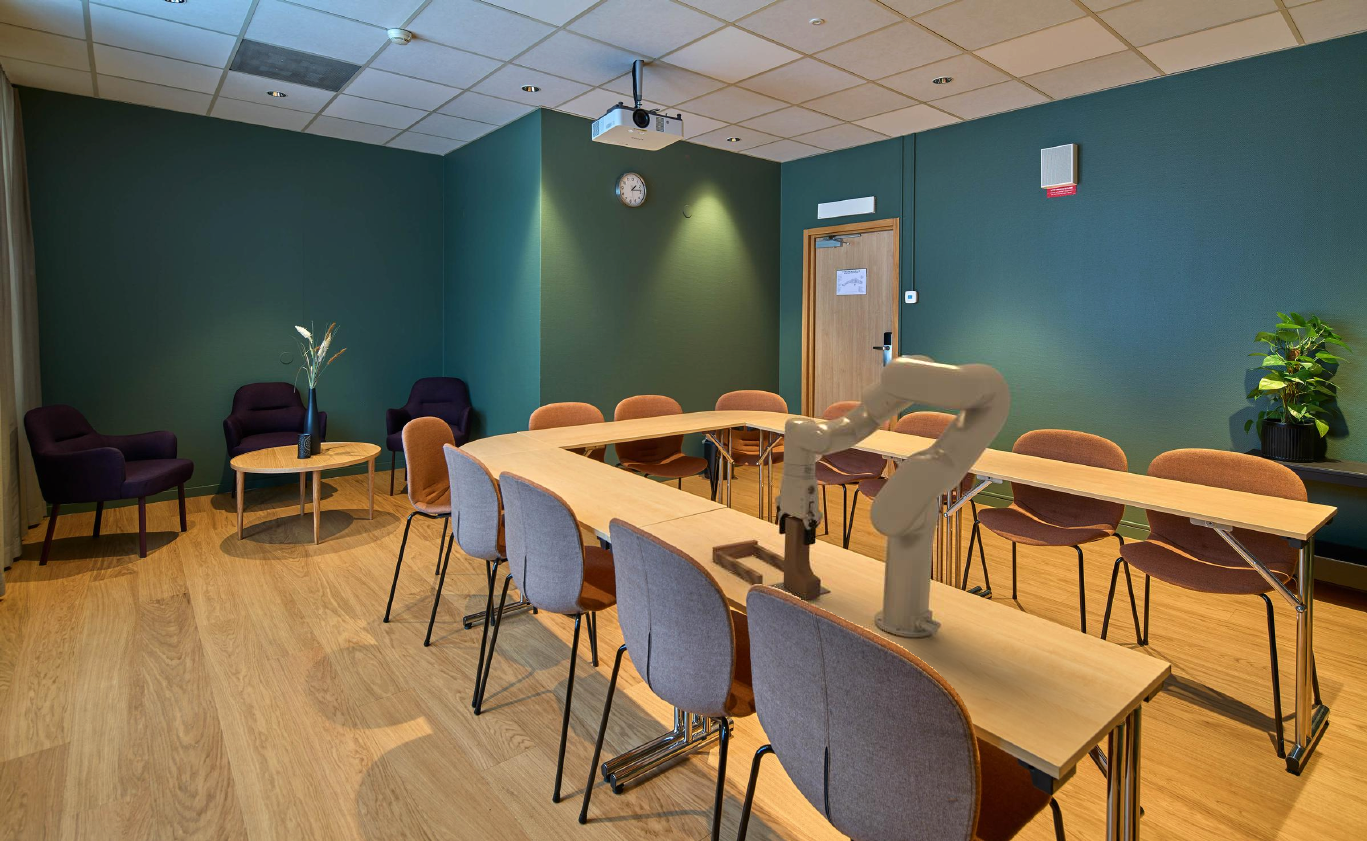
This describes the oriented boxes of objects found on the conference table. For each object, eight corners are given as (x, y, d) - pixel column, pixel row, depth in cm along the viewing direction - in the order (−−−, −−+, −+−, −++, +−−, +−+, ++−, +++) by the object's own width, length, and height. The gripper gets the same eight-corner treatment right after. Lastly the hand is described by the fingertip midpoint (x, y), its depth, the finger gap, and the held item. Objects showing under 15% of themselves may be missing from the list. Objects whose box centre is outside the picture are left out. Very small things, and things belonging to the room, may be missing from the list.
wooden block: (820, 597, 169) (823, 524, 166) (805, 600, 167) (808, 526, 164) (797, 584, 176) (799, 514, 174) (782, 587, 174) (784, 517, 172)
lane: (802, 577, 182) (802, 563, 181) (757, 587, 175) (757, 572, 175) (754, 553, 201) (754, 539, 200) (712, 561, 194) (712, 547, 193)
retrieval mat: (830, 592, 173) (830, 590, 172) (784, 603, 166) (784, 601, 166) (804, 579, 181) (804, 577, 181) (759, 588, 174) (759, 587, 174)
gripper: (835, 475, 163) (832, 546, 166) (789, 461, 178) (787, 527, 181) (810, 478, 160) (807, 551, 162) (765, 464, 175) (763, 531, 177)
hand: (796, 538), depth 172 cm, fingers open, 9 cm apart
